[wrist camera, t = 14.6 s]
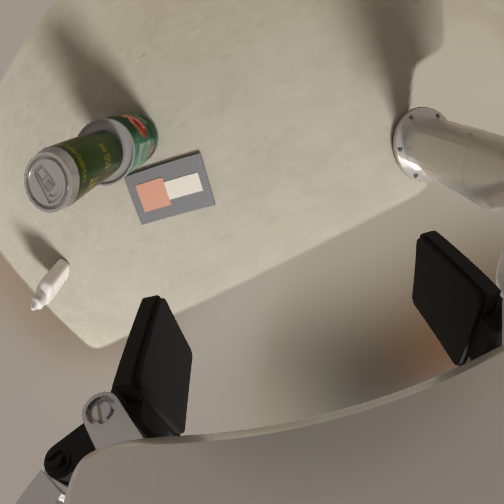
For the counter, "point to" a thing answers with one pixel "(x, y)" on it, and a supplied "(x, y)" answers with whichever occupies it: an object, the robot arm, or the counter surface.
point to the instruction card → (170, 189)
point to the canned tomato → (128, 140)
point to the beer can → (71, 169)
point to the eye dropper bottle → (50, 284)
